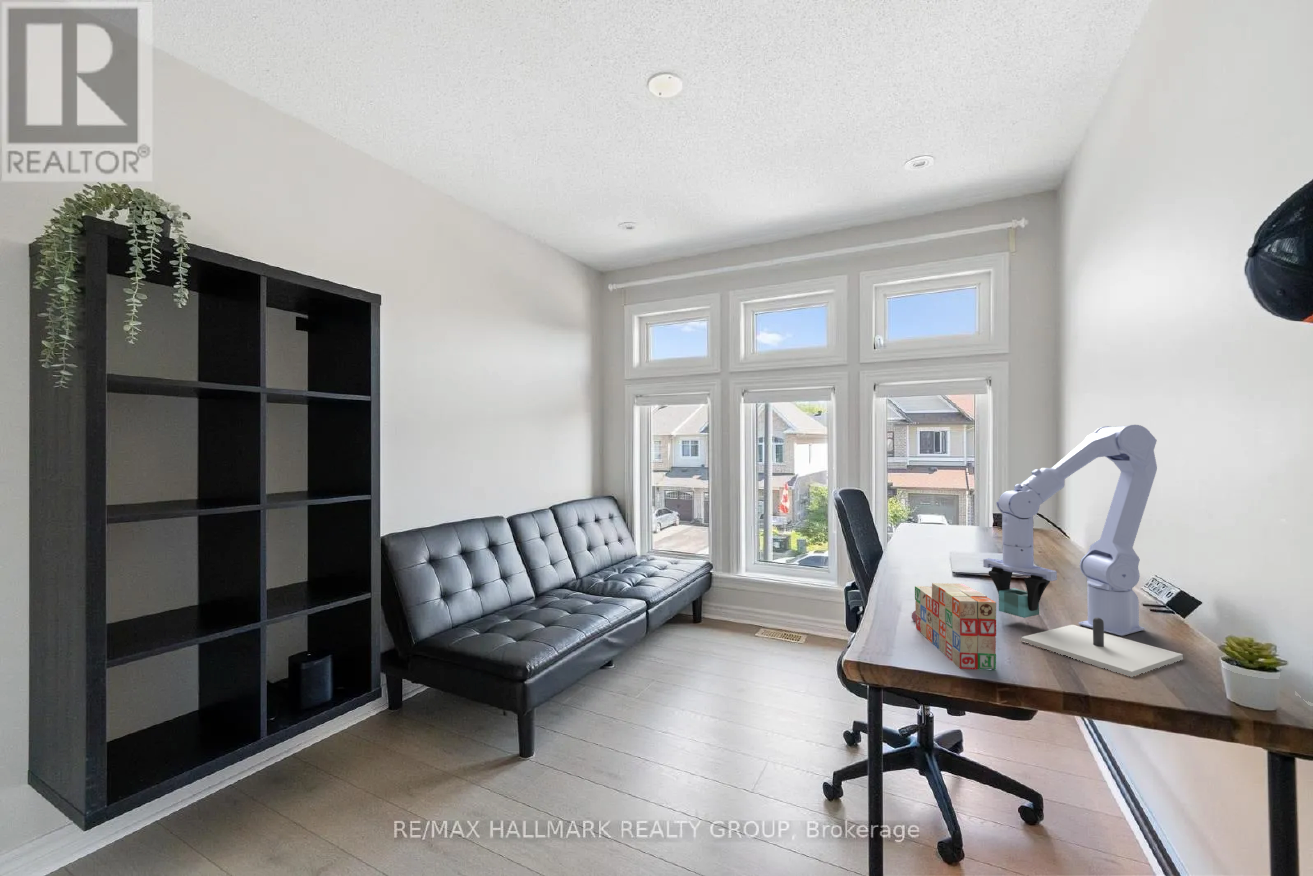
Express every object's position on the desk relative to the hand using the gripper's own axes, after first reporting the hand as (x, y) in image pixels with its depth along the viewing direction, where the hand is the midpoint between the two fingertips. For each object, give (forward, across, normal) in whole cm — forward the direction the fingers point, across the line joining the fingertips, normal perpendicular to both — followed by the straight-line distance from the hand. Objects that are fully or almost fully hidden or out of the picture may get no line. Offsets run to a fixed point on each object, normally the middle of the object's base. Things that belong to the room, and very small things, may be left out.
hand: (1018, 606), depth 117 cm
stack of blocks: (+4, +3, -26) cm, 27 cm away
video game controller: (+4, -9, -15) cm, 18 cm away
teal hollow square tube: (+1, 0, 0) cm, 1 cm away
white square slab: (+4, +16, -2) cm, 17 cm away
